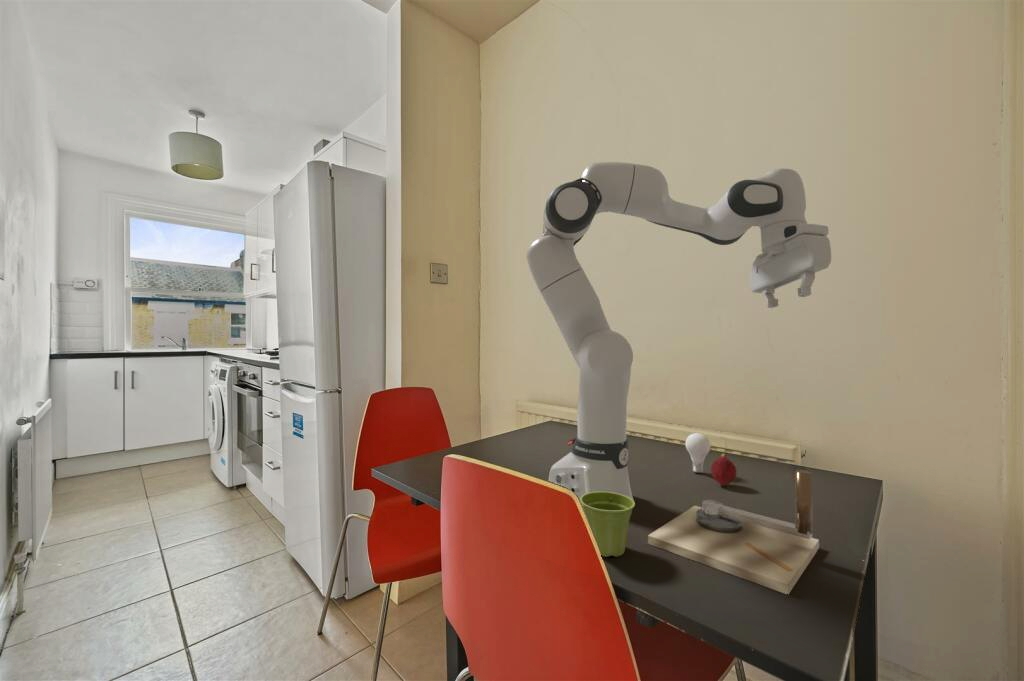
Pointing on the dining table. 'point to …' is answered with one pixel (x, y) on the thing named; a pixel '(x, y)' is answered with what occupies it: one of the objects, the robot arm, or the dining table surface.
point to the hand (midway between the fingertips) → (787, 301)
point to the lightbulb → (697, 450)
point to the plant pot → (608, 520)
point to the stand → (739, 550)
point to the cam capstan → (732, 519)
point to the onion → (723, 470)
